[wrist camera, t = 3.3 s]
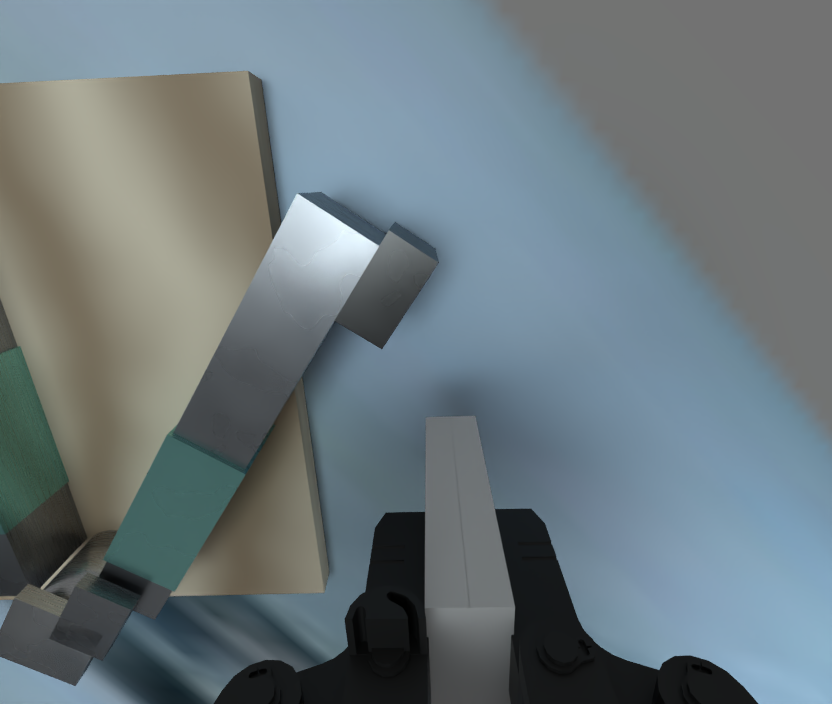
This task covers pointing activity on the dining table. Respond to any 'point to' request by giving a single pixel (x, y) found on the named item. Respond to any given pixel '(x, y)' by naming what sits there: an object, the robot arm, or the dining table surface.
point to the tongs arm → (227, 423)
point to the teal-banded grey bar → (36, 491)
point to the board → (150, 298)
